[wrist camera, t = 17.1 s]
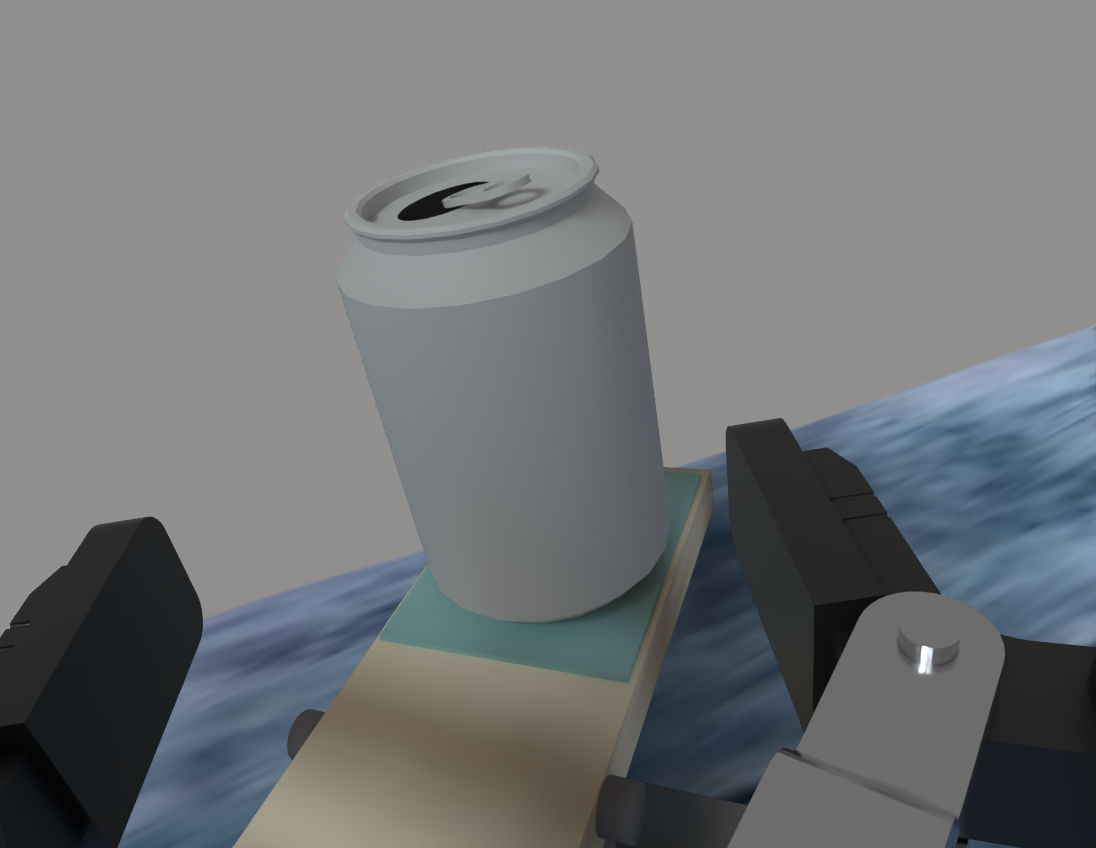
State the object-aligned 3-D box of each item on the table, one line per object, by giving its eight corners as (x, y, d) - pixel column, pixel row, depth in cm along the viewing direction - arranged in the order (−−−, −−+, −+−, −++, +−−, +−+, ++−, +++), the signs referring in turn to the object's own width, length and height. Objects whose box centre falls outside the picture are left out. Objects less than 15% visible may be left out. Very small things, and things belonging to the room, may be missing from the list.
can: (538, 462, 31) (465, 129, 25) (719, 522, 27) (684, 132, 20) (387, 587, 27) (252, 219, 21) (573, 685, 22) (471, 248, 16)
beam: (336, 1885, 10) (285, 1891, 9) (-158, 1459, 14) (-230, 1433, 13) (736, 509, 30) (733, 467, 29) (491, 487, 34) (481, 450, 33)
